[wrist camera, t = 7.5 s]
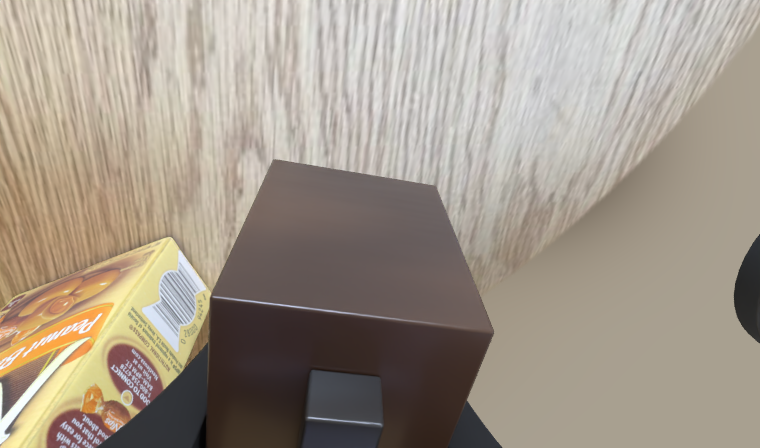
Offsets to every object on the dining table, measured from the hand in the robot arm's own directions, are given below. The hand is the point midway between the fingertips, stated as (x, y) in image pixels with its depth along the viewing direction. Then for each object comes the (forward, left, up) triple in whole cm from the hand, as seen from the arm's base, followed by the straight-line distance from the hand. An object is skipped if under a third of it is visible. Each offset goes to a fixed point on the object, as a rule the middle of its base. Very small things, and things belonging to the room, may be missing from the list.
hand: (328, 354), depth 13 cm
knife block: (0, 0, -2) cm, 2 cm away
